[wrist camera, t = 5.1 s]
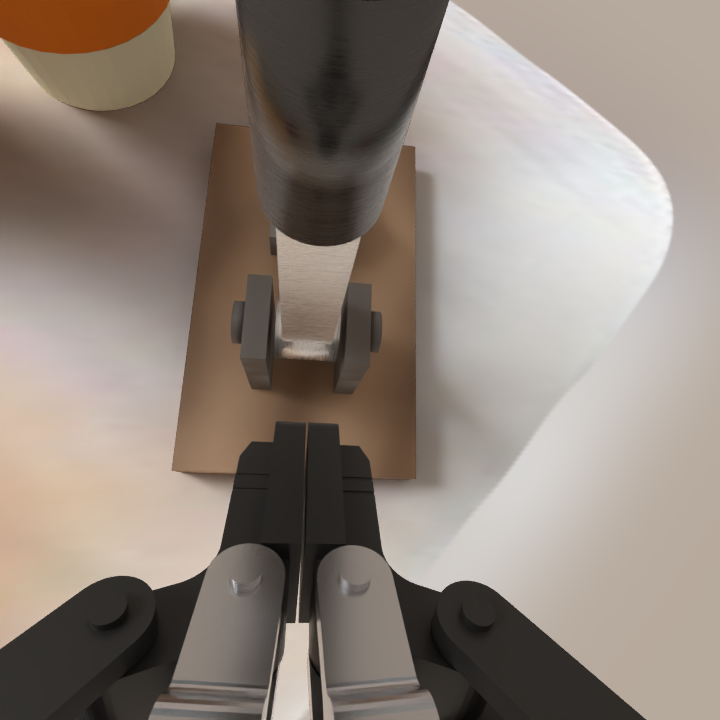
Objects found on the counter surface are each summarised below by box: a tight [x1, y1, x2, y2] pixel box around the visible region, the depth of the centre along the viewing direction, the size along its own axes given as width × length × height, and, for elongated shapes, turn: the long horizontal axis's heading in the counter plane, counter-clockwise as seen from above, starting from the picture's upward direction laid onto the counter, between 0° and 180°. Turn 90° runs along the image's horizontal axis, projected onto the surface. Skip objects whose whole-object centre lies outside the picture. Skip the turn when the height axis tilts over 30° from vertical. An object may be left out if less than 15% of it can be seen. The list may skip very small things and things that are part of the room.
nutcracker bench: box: [172, 123, 416, 480], centre depth 25 cm, size 12×20×8 cm, turn 179°
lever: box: [236, 0, 449, 362], centre depth 13 cm, size 4×4×20 cm
